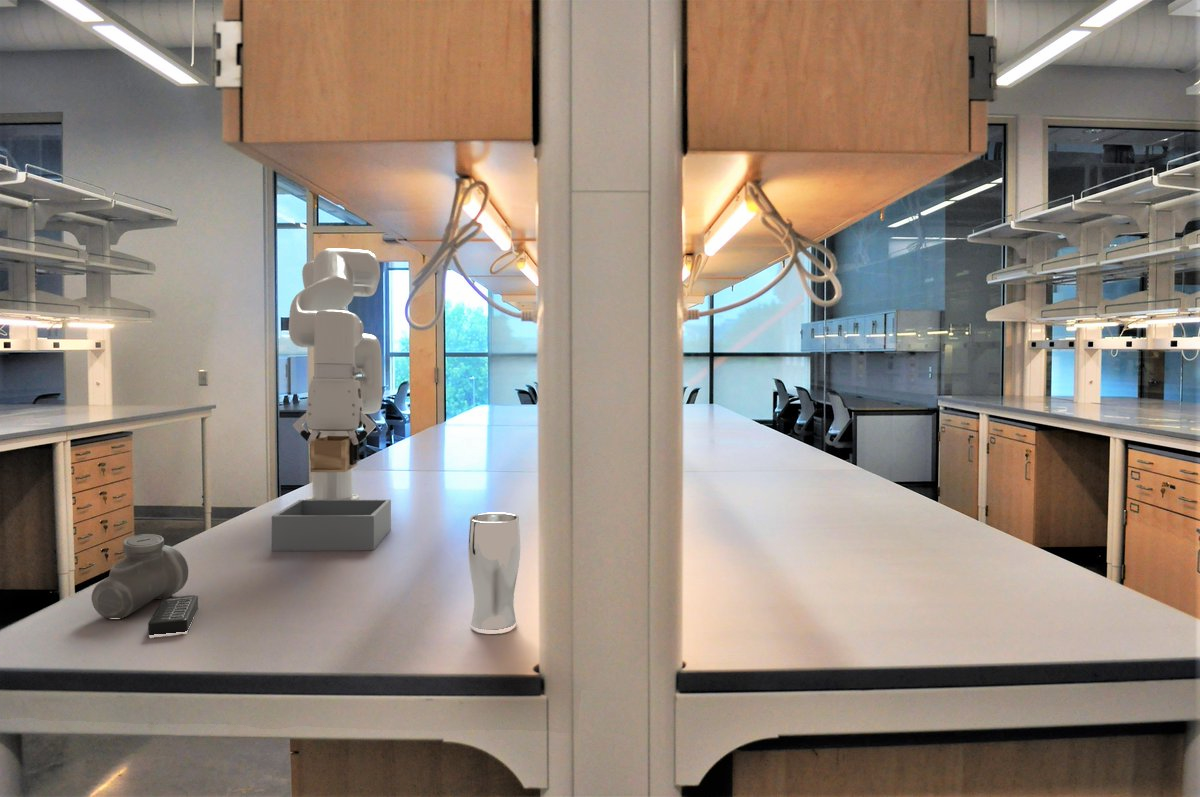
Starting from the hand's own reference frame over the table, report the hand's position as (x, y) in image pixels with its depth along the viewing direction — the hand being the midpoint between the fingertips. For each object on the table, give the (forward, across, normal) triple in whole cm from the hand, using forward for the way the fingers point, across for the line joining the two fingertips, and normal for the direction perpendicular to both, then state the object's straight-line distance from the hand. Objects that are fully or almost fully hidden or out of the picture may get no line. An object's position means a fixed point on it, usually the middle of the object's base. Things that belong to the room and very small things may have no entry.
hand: (334, 463), depth 146 cm
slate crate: (+15, 0, 0) cm, 15 cm away
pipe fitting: (+16, +17, +40) cm, 46 cm away
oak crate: (+1, 0, 0) cm, 1 cm away
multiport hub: (+16, +9, +46) cm, 50 cm away
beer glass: (+16, -34, +50) cm, 62 cm away
